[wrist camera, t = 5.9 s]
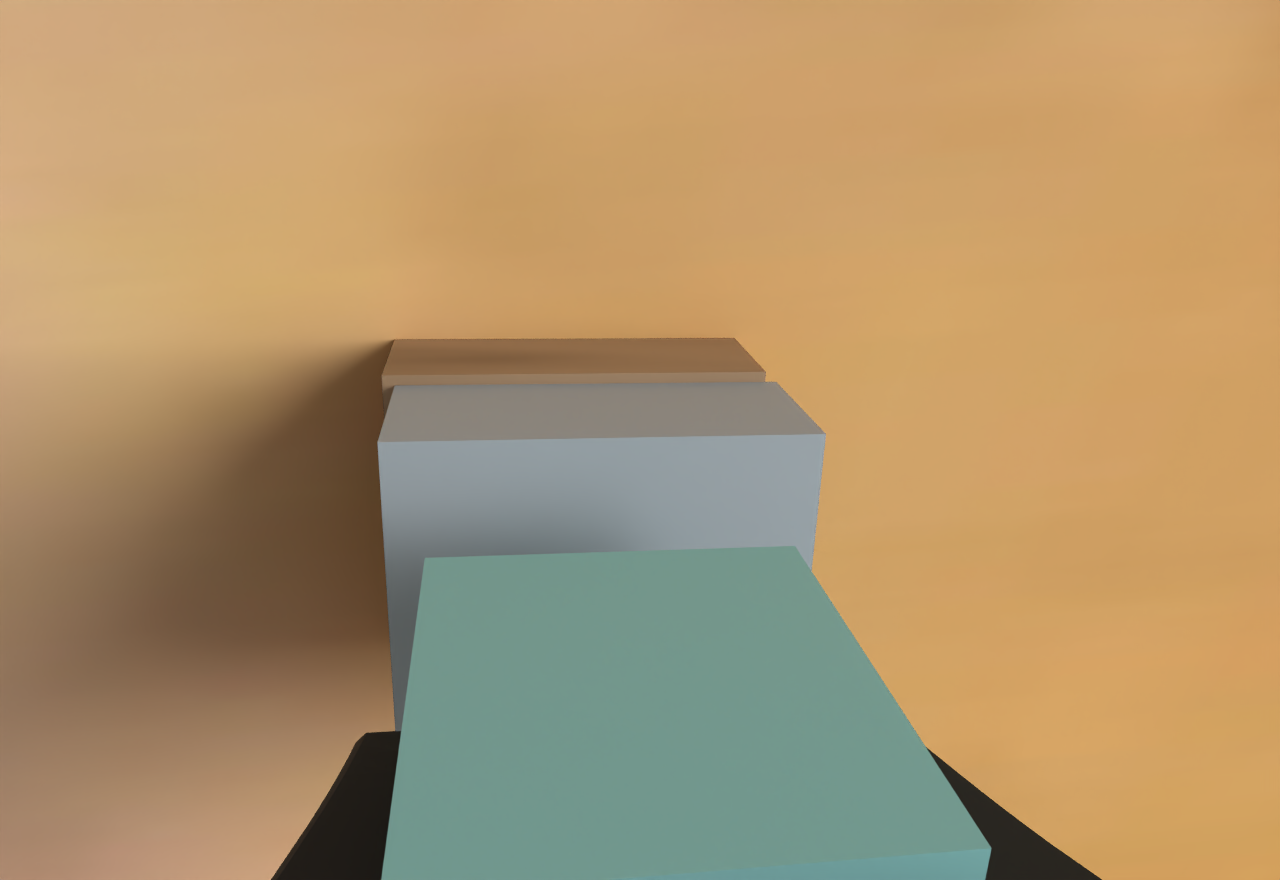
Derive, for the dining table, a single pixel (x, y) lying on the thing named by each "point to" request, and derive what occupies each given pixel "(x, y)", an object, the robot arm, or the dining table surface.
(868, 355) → the dining table surface
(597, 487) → the slate top slab
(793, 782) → the teal block
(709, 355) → the walnut base slab
